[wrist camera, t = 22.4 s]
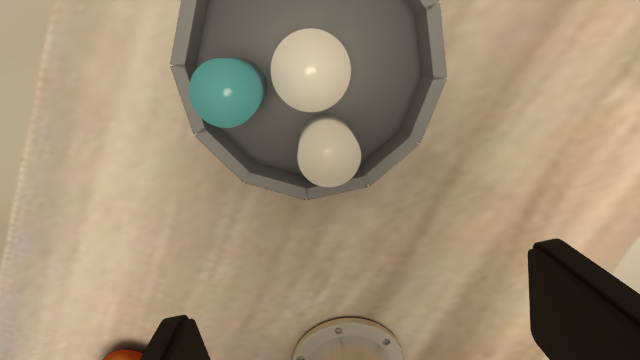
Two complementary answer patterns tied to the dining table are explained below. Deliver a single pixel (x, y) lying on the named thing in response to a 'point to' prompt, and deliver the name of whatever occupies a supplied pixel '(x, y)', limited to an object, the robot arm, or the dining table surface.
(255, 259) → the dining table surface
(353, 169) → the cream bead
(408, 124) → the ring dish
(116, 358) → the fruit
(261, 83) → the teal bead
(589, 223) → the dining table surface
